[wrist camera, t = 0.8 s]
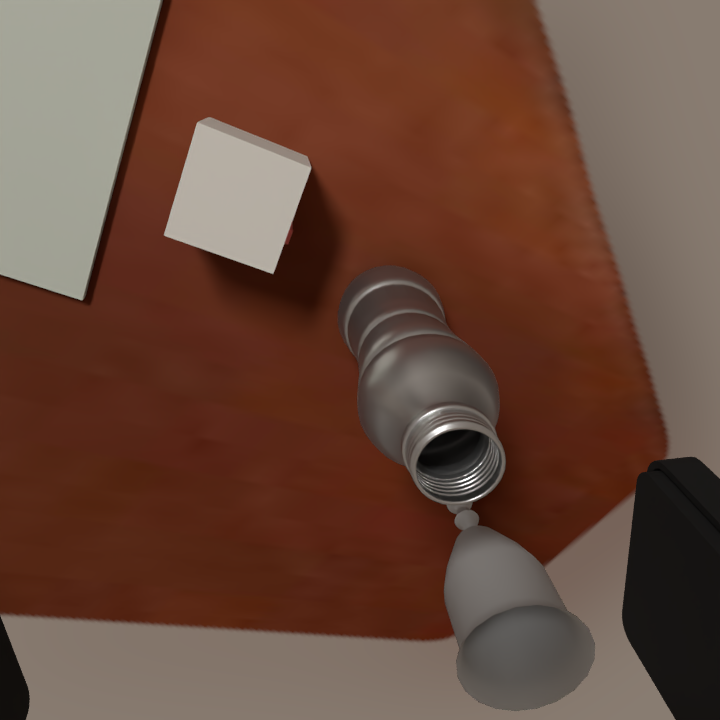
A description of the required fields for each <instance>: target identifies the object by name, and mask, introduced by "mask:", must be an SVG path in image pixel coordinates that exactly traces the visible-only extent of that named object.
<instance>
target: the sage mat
mask: <svg viewBox="0 0 720 720" xmlns="http://www.w3.org/2000/svg"><path fill="white" fill-rule="evenodd" d="M162 2H163V0H0V274H1V275H4V276H7V277H10V278H13V279H16V280H19V281H23V282H26V283H29V284H32V285H35V286H38V287H41V288H45V289H48V290H51V291H54V292H57V293H60V294H63V295H66V296H70V297H73V298H76V299H79V300H83V299H84V298H85V296H86V292H87V288H88V285H89V281H90V277H91V273H92V269H93V266H94V262H95V258H96V254H97V250H98V246H99V243H100V239H101V235H102V231H103V227H104V224H105V220H106V216H107V212H108V208H109V204H110V201H111V197H112V193H113V189H114V185H115V182H116V178H117V174H118V170H119V166H120V162H121V159H122V155H123V151H124V147H125V143H126V140H127V136H128V132H129V128H130V124H131V121H132V117H133V113H134V109H135V105H136V101H137V98H138V94H139V90H140V86H141V82H142V79H143V75H144V71H145V67H146V63H147V59H148V56H149V52H150V48H151V44H152V40H153V37H154V33H155V29H156V25H157V21H158V17H159V14H160V10H161V6H162Z"/></svg>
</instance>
